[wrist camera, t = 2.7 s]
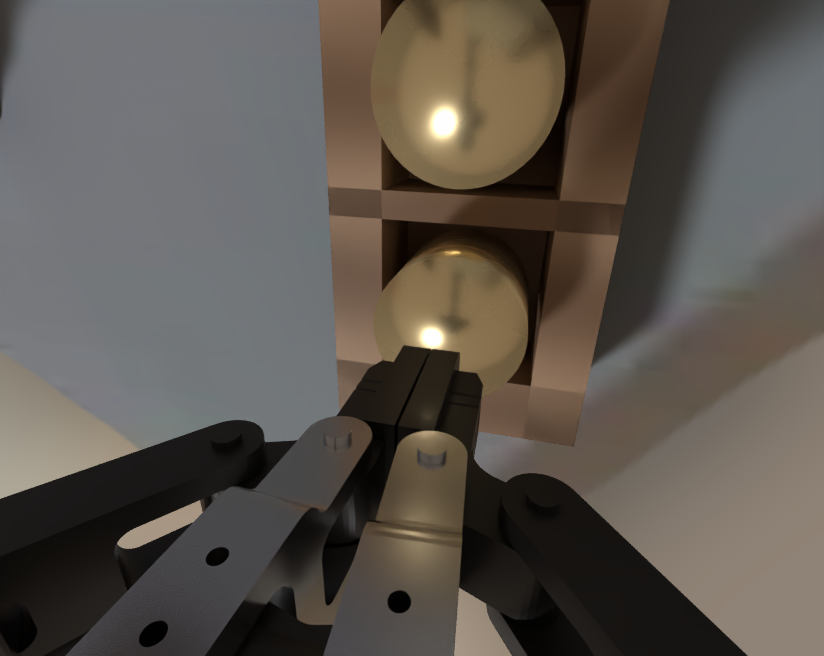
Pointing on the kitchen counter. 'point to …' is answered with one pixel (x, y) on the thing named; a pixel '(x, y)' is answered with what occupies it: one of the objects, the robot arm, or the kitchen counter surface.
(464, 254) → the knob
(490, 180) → the knob middle
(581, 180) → the box
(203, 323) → the kitchen counter surface
